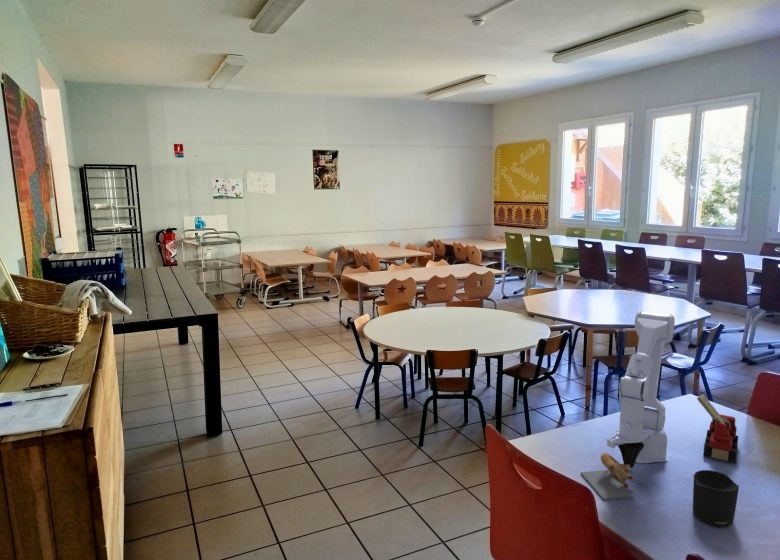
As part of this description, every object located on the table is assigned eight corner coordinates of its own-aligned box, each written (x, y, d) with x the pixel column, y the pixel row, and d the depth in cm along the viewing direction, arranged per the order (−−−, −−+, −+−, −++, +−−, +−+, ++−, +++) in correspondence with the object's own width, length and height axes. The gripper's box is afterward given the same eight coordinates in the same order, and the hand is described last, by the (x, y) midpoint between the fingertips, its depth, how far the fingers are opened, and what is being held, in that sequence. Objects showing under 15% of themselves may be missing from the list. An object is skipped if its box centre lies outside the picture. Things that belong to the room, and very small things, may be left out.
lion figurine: (647, 480, 142) (626, 460, 140) (634, 496, 142) (613, 476, 140) (613, 457, 156) (593, 439, 154) (601, 471, 156) (581, 453, 154)
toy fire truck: (738, 445, 168) (743, 391, 165) (735, 467, 155) (741, 409, 152) (696, 436, 174) (701, 384, 171) (690, 456, 162) (695, 401, 159)
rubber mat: (607, 471, 154) (607, 469, 154) (632, 497, 141) (632, 495, 141) (580, 474, 153) (580, 472, 153) (603, 500, 140) (603, 498, 140)
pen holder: (686, 518, 132) (689, 481, 131) (696, 501, 139) (699, 466, 137) (730, 534, 126) (734, 495, 124) (738, 515, 133) (742, 478, 131)
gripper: (639, 409, 151) (636, 453, 153) (599, 418, 145) (597, 465, 148) (660, 419, 145) (657, 465, 147) (619, 429, 139) (616, 477, 141)
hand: (628, 466), depth 147 cm, fingers closed
